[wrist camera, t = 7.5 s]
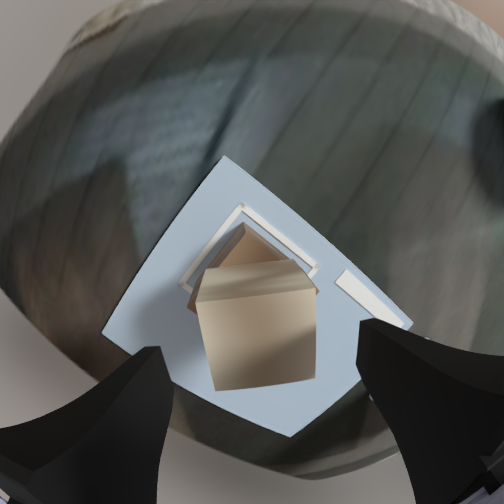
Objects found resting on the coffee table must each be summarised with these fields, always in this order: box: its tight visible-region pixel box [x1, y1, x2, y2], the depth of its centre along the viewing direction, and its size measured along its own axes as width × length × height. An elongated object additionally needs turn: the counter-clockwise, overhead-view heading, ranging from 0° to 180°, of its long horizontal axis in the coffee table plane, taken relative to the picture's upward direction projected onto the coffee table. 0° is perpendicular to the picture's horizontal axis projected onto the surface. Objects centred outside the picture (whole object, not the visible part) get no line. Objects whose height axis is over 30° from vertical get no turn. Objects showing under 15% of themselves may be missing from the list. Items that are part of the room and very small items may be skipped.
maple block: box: [195, 259, 316, 391], centre depth 12 cm, size 4×4×4 cm
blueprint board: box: [102, 155, 413, 437], centre depth 20 cm, size 20×16×1 cm
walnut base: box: [187, 222, 320, 315], centre depth 16 cm, size 5×5×4 cm
